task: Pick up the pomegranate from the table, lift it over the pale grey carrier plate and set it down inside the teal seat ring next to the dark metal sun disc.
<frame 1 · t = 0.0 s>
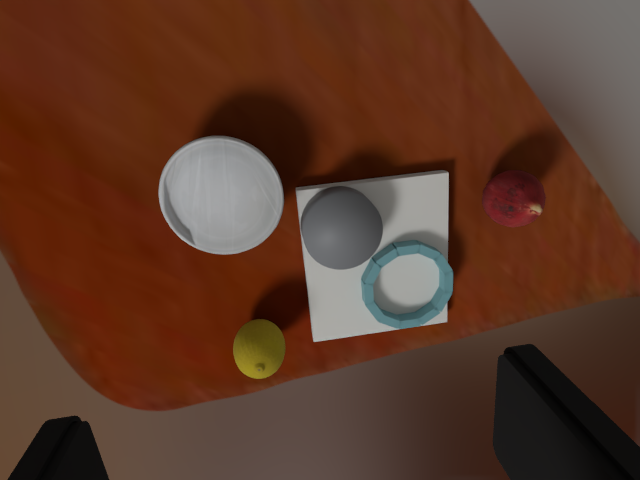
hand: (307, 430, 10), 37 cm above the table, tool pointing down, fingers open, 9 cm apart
carrier plate: (374, 256, 49), on the table
pomegranate: (494, 189, 49), on the table
lemon: (259, 326, 51), on the table
ramekin: (226, 185, 45), on the table
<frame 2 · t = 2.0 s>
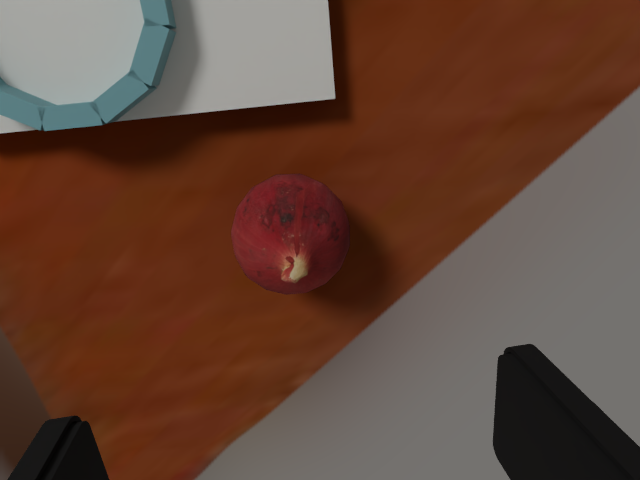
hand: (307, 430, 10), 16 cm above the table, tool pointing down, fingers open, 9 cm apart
pomegranate: (288, 211, 25), on the table
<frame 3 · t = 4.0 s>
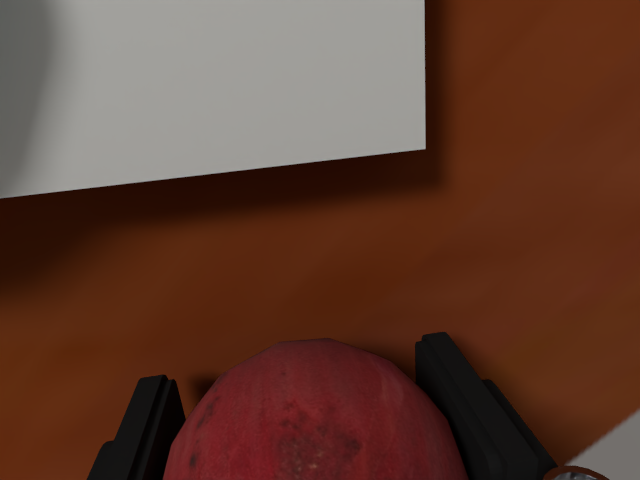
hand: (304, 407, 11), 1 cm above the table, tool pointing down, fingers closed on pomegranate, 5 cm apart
pomegranate: (299, 372, 12), on the table, touching gripper
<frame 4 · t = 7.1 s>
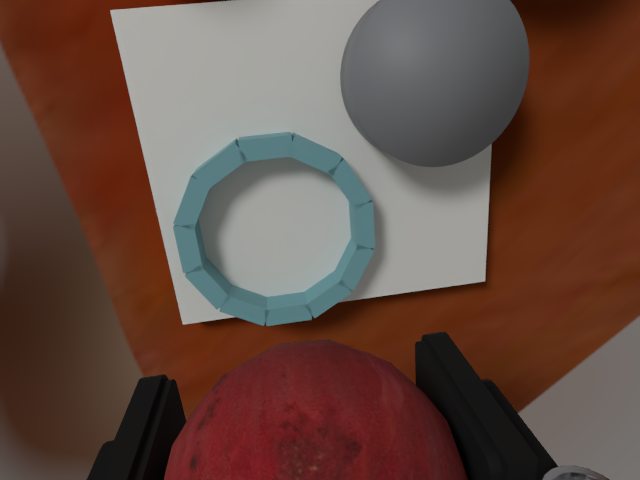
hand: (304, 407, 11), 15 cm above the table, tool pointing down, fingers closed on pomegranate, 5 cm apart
carrier plate: (323, 162, 24), on the table
pomegranate: (299, 373, 12), point 14 cm above the table, touching gripper
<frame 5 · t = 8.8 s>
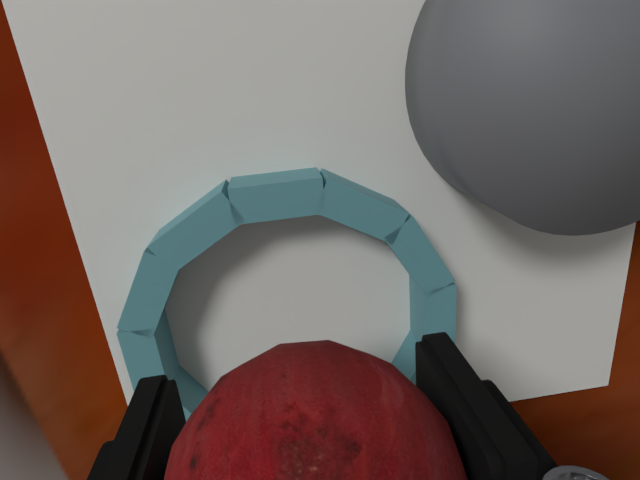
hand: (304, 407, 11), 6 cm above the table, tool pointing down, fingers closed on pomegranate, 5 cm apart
carrier plate: (366, 210, 15), on the table
pomegranate: (299, 373, 12), point 4 cm above the table, touching gripper
when the fingers open (5 cm above the table, at t = 9.9 s): pomegranate drops 2 cm, resting on carrier plate.
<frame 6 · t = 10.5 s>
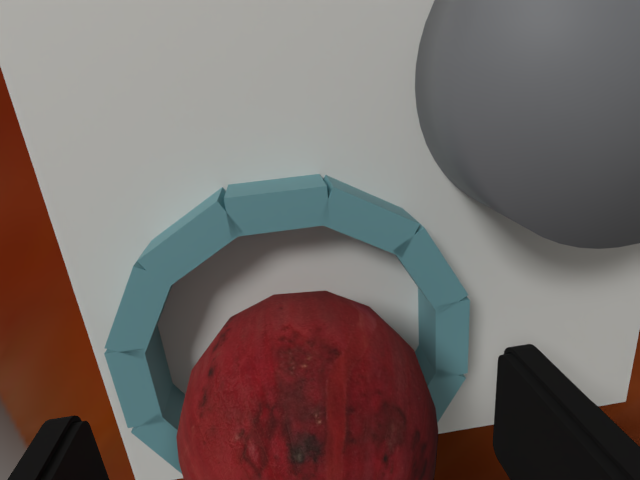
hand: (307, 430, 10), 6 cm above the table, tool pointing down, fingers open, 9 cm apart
carrier plate: (372, 218, 14), on the table
pomegranate: (295, 331, 14), point 1 cm above the table, touching carrier plate
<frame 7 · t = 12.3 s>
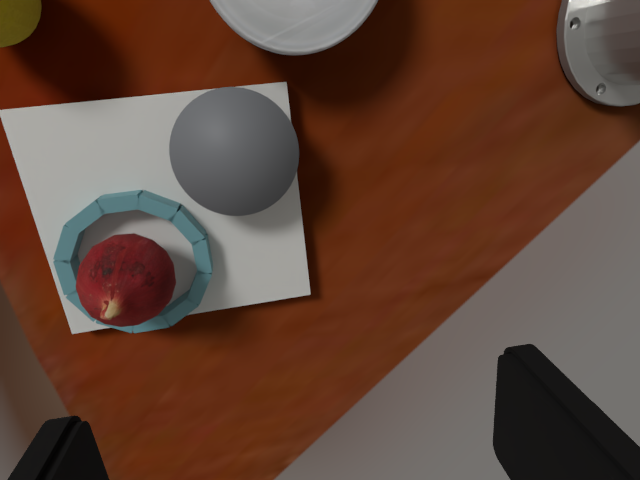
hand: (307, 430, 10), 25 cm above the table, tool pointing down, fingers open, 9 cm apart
carrier plate: (176, 208, 32), on the table
pomegranate: (141, 258, 32), point 1 cm above the table, touching carrier plate
lemon: (14, 4, 27), on the table
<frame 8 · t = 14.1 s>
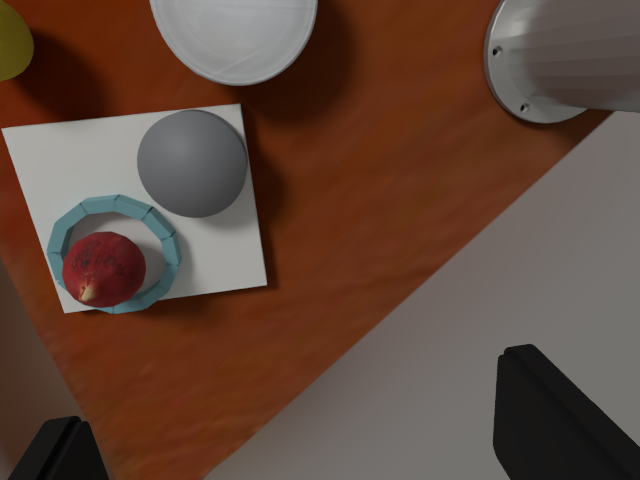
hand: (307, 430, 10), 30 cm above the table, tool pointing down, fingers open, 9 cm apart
carrier plate: (151, 209, 38), on the table
pomegranate: (120, 251, 38), point 1 cm above the table, touching carrier plate
lemon: (14, 42, 33), on the table
ramekin: (239, 8, 34), on the table
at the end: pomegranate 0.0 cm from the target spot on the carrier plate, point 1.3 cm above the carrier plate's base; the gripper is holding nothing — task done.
